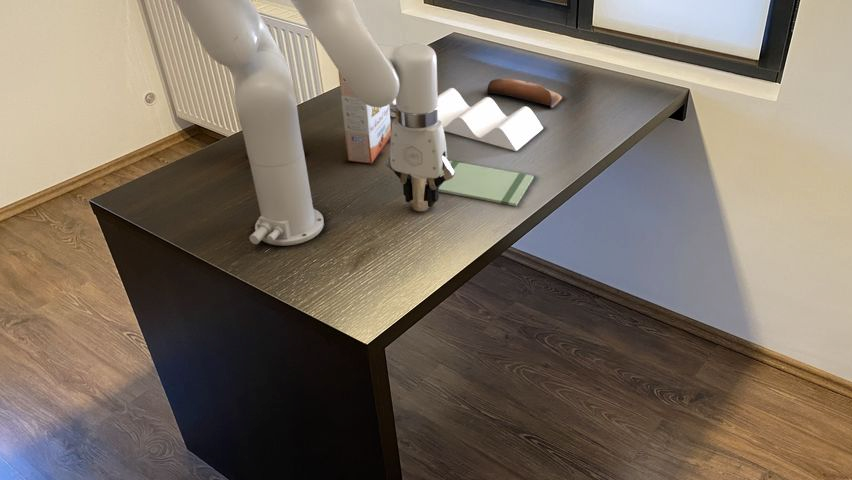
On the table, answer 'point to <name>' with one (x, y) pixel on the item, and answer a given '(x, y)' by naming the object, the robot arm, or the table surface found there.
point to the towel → (486, 183)
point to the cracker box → (363, 126)
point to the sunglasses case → (524, 91)
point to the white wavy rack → (485, 121)
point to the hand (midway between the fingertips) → (421, 200)
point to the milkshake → (419, 192)
